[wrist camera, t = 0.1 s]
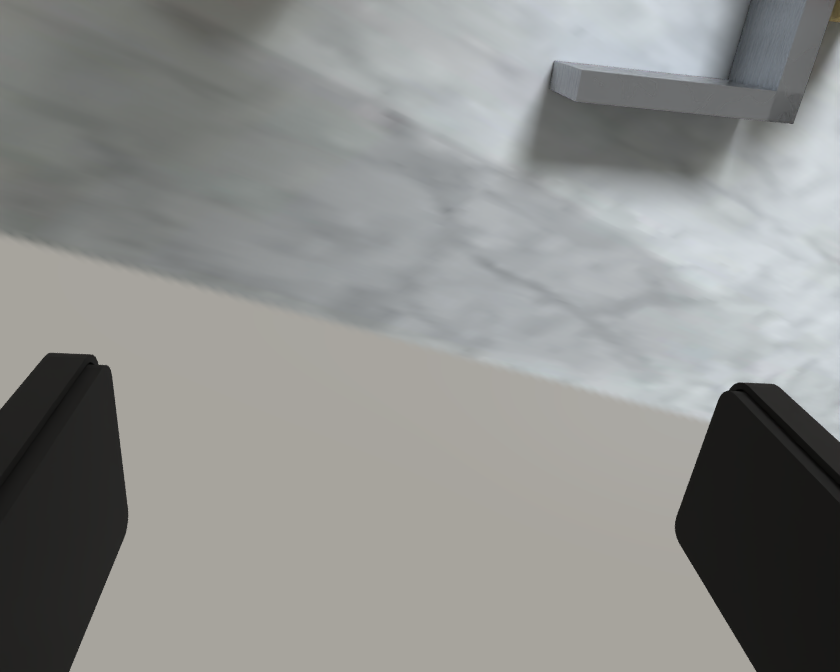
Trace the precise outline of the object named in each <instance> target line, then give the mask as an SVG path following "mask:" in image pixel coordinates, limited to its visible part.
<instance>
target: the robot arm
mask: <svg viewBox="0 0 840 672" xmlns="http://www.w3.org/2000/svg"><path fill="white" fill-rule="evenodd" d="M127 523H128V506H127V498H126V489H125V481H124V473H123V465H122V456H121V448H120V439H119V431H118V422H117V414H116V406H115V397H114V389H113V381H112V374H111V370H110V368H109V366H107V365H98V361H97V359H96V357H95V356H94V355H90V354H66V353H65V354H64V353H48V354H47V355H46V356H45V357H44V358H43V359H42V360H41V362H40V363H39V364H38V365H37V366H36V368H35V369H34V370H33V371H32V372H31V373H30V375H29V376H28V377H27V378H26V380H25V381H24V382H23V383H22V384H21V385H20V387H19V388H18V389H17V390H16V392H15V393H14V394H13V395H12V396H11V397H10V399H9V400H8V401H7V403H5V405H4V406H3V407H2V408H1V409H0V672H69V671H70V668H71V666H72V663H73V661H74V658H75V656H76V653H77V651H78V649H79V646H80V644H81V641H82V639H83V636H84V634H85V631H86V629H87V627H88V624H89V622H90V619H91V617H92V614H93V612H94V610H95V607H96V605H97V602H98V600H99V598H100V595H101V593H102V590H103V588H104V585H105V583H106V581H107V578H108V576H109V573H110V571H111V568H112V566H113V564H114V561H115V559H116V556H117V554H118V551H119V549H120V546H121V544H122V542H123V539H124V536H125V534H126V529H127ZM675 532H676V536H677V539H678V542H679V544H680V545H681V547H682V548H683V550H684V552H685V554H686V555H687V557H688V559H689V560H690V562H691V564H692V565H693V567H694V569H695V570H696V572H697V574H698V575H699V577H700V578H701V580H702V582H703V583H704V585H705V587H706V588H707V590H708V592H709V593H710V595H711V597H712V598H713V600H714V602H715V603H716V605H717V607H718V608H719V610H720V612H721V613H722V615H723V617H724V618H725V620H726V622H727V623H728V625H729V626H730V628H731V630H732V632H733V633H734V635H735V637H736V638H737V640H738V642H739V643H740V645H741V647H742V648H743V650H744V652H745V653H746V655H747V657H748V658H749V660H750V662H751V663H752V665H753V666H754V668H755V670H756V672H840V442H839V441H838V440H837V439H836V438H834V437H833V436H832V435H831V434H830V433H829V432H828V431H827V430H826V429H825V428H823V427H822V426H821V425H820V424H819V423H818V422H817V421H816V420H815V419H814V418H813V417H811V416H810V415H809V414H808V413H807V412H806V411H805V410H804V409H803V408H802V407H801V406H799V405H798V404H797V403H796V402H795V401H794V400H793V399H792V398H791V397H790V396H788V395H787V394H786V393H785V392H784V391H783V390H782V389H781V388H780V387H778V386H776V385H775V384H762V383H736V384H734V385H733V386H732V387H731V388H730V390H729V391H726V392H724V393H723V394H722V395H721V396H720V398H719V400H718V402H717V405H716V408H715V411H714V414H713V416H712V419H711V422H710V425H709V428H708V430H707V433H706V436H705V439H704V442H703V444H702V448H701V450H700V453H699V456H698V458H697V461H696V464H695V467H694V469H693V472H692V475H691V478H690V481H689V484H688V486H687V489H686V492H685V495H684V497H683V500H682V503H681V506H680V509H679V511H678V514H677V517H676V521H675Z"/></svg>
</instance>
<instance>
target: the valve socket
mask: <svg viewBox="0 0 840 672" xmlns="http://www.w3.org/2000/svg"><path fill="white" fill-rule="evenodd" d="M829 21H832V22H840V0H751V4H750V7H749V11H748V14H747V17H746V21H745V24H744V27H743V31H742V34H741V38H740V41H739V44H738V48H737V51H736V55H735V58H734V61H733V65H732V68H731V72H730V75H729V78H728V80H725V79H716V78H707V77H698V76H689V75H680V74H670V73H661V72H652V71H643V70H634V69H625V68H616V67H607V66H598V65H589V64H580V63H571V62H562V61H554V65H553V71H552V76H551V82H550V87H549V89H551V90H553V91H555V92H557V93H559V94H561V95H563V96H565V97H567V98H569V99H571V100H573V101H575V102H584V103H594V104H604V105H613V106H623V107H633V108H643V109H653V110H662V111H672V112H682V113H692V114H702V115H711V116H721V117H731V118H741V119H750V120H760V121H770V122H780V123H790V124H793V123H794V120H795V117H796V114H797V111H798V108H799V106H800V103H801V100H802V97H803V94H804V91H805V88H806V85H807V82H808V80H809V77H810V74H811V71H812V68H813V65H814V62H815V59H816V56H817V54H818V51H819V48H820V45H821V42H822V39H823V36H824V33H825V30H826V28H827V25H828V22H829Z"/></svg>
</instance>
